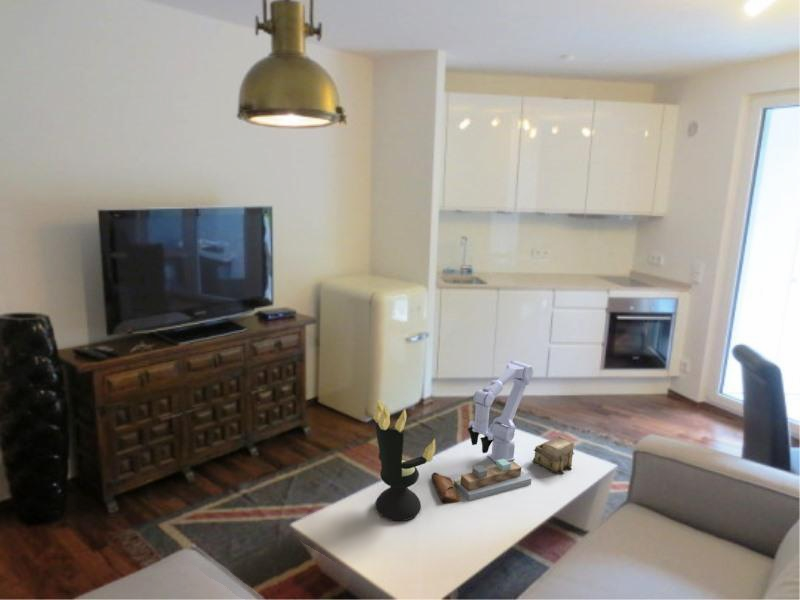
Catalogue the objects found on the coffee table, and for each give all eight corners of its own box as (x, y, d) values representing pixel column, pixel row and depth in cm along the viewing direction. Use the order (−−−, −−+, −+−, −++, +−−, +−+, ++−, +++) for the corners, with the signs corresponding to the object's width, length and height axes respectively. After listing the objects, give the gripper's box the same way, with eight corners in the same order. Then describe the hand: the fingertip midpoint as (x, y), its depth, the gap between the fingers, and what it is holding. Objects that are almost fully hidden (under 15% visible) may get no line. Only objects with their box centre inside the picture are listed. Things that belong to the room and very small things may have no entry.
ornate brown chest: (577, 466, 240) (580, 442, 238) (558, 476, 232) (561, 451, 229) (549, 452, 252) (551, 429, 249) (529, 461, 243) (532, 437, 240)
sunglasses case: (463, 502, 210) (456, 489, 208) (448, 511, 210) (440, 498, 208) (450, 477, 227) (443, 465, 225) (435, 486, 227) (428, 474, 225)
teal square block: (503, 464, 226) (504, 458, 226) (510, 469, 223) (510, 463, 222) (495, 466, 225) (496, 460, 224) (502, 471, 221) (502, 465, 220)
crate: (480, 470, 221) (481, 464, 220) (487, 476, 217) (487, 470, 216) (472, 472, 219) (472, 466, 218) (478, 478, 215) (478, 472, 214)
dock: (513, 471, 234) (514, 465, 233) (530, 484, 225) (531, 478, 224) (453, 486, 221) (454, 480, 220) (469, 500, 211) (469, 494, 211)
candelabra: (433, 507, 206) (440, 394, 196) (399, 537, 188) (405, 414, 178) (392, 490, 216) (396, 381, 206) (356, 517, 198) (359, 399, 188)
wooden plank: (511, 469, 230) (512, 461, 229) (520, 476, 226) (521, 467, 225) (460, 484, 218) (461, 475, 217) (468, 491, 213) (469, 482, 212)
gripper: (464, 413, 234) (462, 442, 237) (484, 427, 222) (481, 458, 225) (477, 410, 237) (475, 439, 240) (498, 424, 225) (495, 454, 228)
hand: (479, 448), depth 233 cm, fingers open, 7 cm apart
